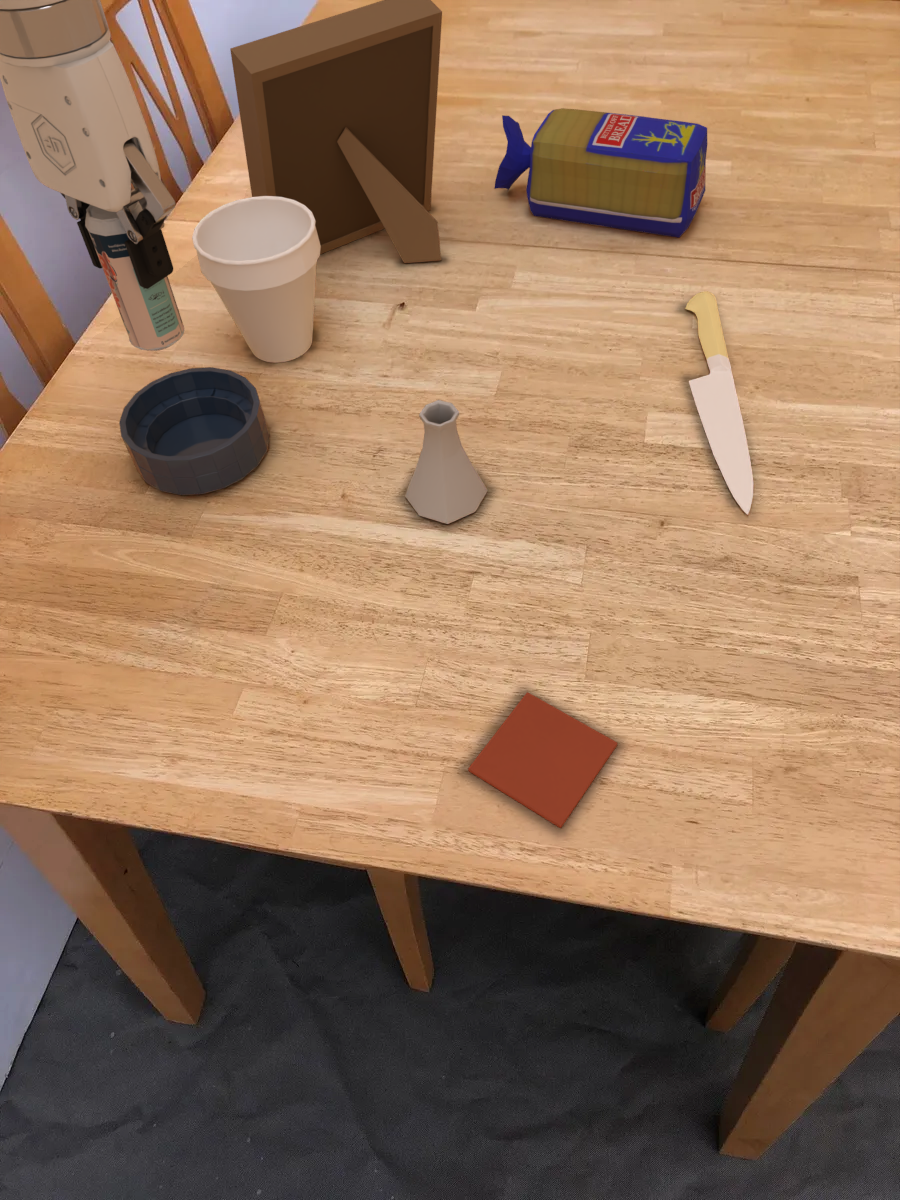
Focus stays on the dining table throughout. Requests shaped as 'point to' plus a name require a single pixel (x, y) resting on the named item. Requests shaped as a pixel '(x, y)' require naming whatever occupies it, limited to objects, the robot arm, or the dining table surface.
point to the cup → (263, 271)
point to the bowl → (195, 430)
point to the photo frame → (348, 122)
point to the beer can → (134, 285)
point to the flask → (444, 469)
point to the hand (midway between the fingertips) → (133, 267)
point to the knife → (721, 403)
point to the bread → (610, 169)
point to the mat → (543, 759)
